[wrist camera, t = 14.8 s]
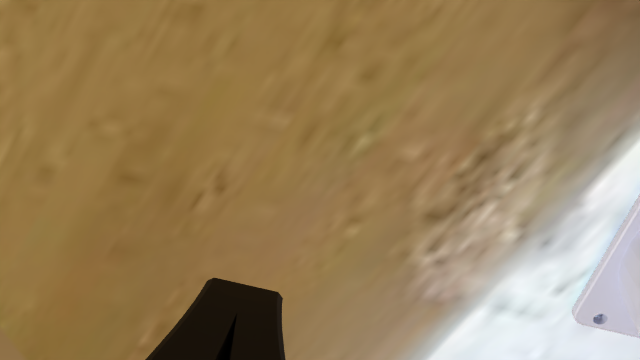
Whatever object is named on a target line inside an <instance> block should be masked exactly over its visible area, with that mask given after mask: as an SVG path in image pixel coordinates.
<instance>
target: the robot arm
mask: <svg viewBox="0 0 640 360" xmlns="http://www.w3.org/2000/svg"><path fill="white" fill-rule="evenodd" d="M282 300H283V298H282V297H281V295H280V294H279V293H278V292H275V291H271V290H266V289H262V288H257V287H253V286H249V285H244V284H240V283H235V282H231V281H227V280H222V279H218V278H212V279H210V280H208V281H207V282H206V284H205V285H204V287H203V289H202V290H201V292H200V293H199V295H198V296H197V298H196V299H195V301H194V302H193V304H192V305H191V306H190V308H189V309H188V310H187V312H186V313H185V314H184V315H183V317H182V318H181V319H180V320H179V322H178V323H177V324H176V325H175V327H174V328H173V329H172V330H171V331H170V332H169V334H168V335H167V336H166V337H165V338H164V339H163V340H162V342H161V343H160V344H159V345H158V346H157V347H156V348H155V350H154V351H153V352H152V353H151V354H150V355H149V356H148V357H147V358H146V360H285V353H284V344H283V334H282ZM572 314H573V317H574V320H575V321H576V322H577V323H579V324H581V325H585V326H589V327H594V328H598V329H602V330H607V331H611V332H615V333H620V334H624V335H629V336H633V337H637V338H640V195H639V196H638V198H637V200H636V201H635V203H634V205H633V206H632V208H631V210H630V211H629V213H628V215H627V217H626V218H625V220H624V222H623V223H622V225H621V227H620V228H619V230H618V232H617V233H616V235H615V237H614V239H613V240H612V242H611V244H610V245H609V247H608V249H607V250H606V252H605V254H604V255H603V257H602V259H601V260H600V262H599V264H598V266H597V267H596V269H595V271H594V272H593V274H592V276H591V277H590V279H589V281H588V282H587V284H586V286H585V288H584V289H583V291H582V293H581V294H580V296H579V298H578V299H577V301H576V303H575V304H574V306H573V308H572ZM599 314H603V315H602V316H600V317H595V316H596V315H599Z"/></svg>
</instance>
